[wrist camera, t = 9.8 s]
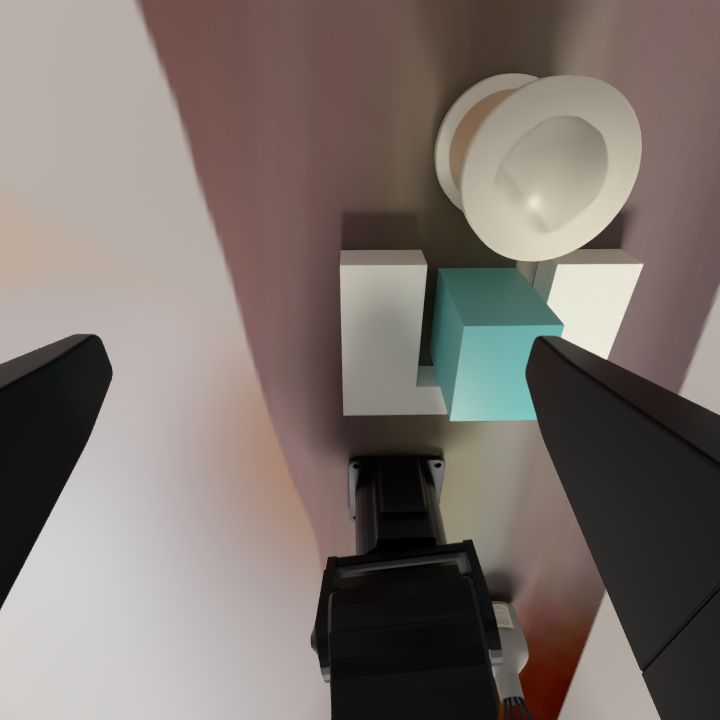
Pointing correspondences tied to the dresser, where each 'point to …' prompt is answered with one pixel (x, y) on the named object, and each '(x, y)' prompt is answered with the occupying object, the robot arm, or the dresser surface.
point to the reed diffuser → (510, 659)
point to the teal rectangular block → (487, 341)
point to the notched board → (405, 312)
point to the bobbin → (538, 161)
